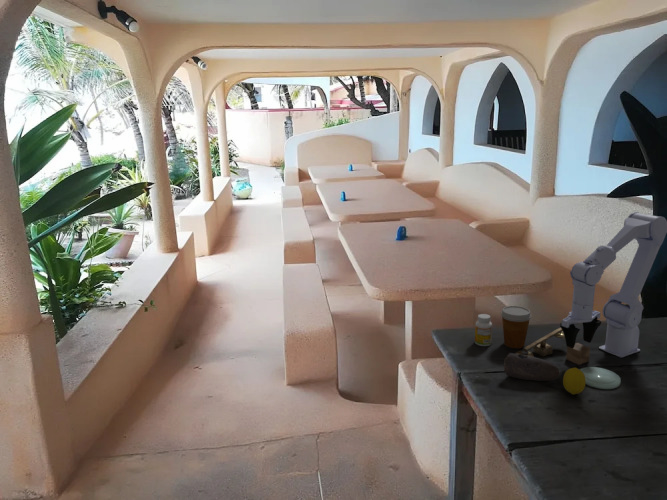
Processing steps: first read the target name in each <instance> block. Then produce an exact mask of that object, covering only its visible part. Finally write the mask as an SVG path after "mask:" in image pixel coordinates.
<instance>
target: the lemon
mask: <svg viewBox="0 0 667 500" xmlns="http://www.w3.org/2000/svg"><path fill="white" fill-rule="evenodd" d="M562 385H563V387H564V389H565V390H566V392H567V393H570V394H571V395H573V396H575V395H578V394H581V393H582V392H583V391H584V389H585V387H586V380H585V375H584V373H583V372H582V371H581V370H580V368H577V367H571V368H568V369H567V370H566V371H565V372H564V374H563V378H562Z"/></svg>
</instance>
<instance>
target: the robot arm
mask: <svg viewBox="0 0 667 500" xmlns="http://www.w3.org/2000/svg"><path fill="white" fill-rule="evenodd" d="M666 235H667V219H666V217H664V216H658V215H652V214H647V213H642V212H638V211H633V212H632V213H630V214H629V215H628V217H626V218H625V219H624V222H623V226H622V228H621V229H620V230H619V231H618V232H617V234H616V235H615V236H613V238H612V239H611V240H610V241H609V242H608V243H607V244H606V245H599V246H597V248H596V249H595V250H594V251H593V252H592V253H591V254H590V255H589V256H588V257H586V258H585V259H584V260H583V261H578V262H577V263H575V264H574V265H573V266H572V268H571V270H570V271H569V274H570V277H571V280H572V283H571V284H572V286H573V289H572V290H573V291H572V303H571V311H569V312H568V315H567V317H565V318H563V319H561V322H560V324H559V326H560V327H559V328H561V329H562V331H563V333H564V336H565V338H564V339H565V345H566V347H567V346H568V347H570V348H574V346H575V343H576V340H577V336H578V333H580V330H581V329H580V328H578V327H576V325H577V324H580V323H582V328H583V329H582V330H583V331H582V332H583V334H582V336H583V337H582V338H583V341H585V342H587V343H589V344H590V343H592V341H593V338H594V335H595V334H596V331H597V330H598V328H600V326H601V325H602V321H601V320H599V319H601V311H598V310H594V302H595V300H594V299H595V294H596V285H597V284H598V283H599V282H600V281H601V278H602V276H603V274H604V272H605V270H606V269H607V268H608V267H609V266H610V265H611V264H612V263H614V262H615V260H617V253H619V252H620V251H621V250H622V249H624V248H625V247H626V246H627V245H628V244H630V243H631V242H632V241H633V240H635V241H637V245H638V247H637V249H636V252H635V254H634V257H633V259H632V261H631V263H630V266H629V268H628V271H627V273H626V275H625V277H624V281H623V283H622V285H621V287H620V289H619V291H618V292H615V293H614V294H610V296H609V299H608V300H607V301H606V302H605V303H604V305H603V306H602V307H603V308H602V316H603V317H604V318H605V322H606V323H607V326H606V335H605V343H604V345H600V346H598V349H599V350H601V351H603V352H606V353H609V354H611V355H614V356H616V357H618V358H625V357H627V356H629V355H632V354H637V353H638V352H640V351H641V349H640V348H638V347H639V338H640V329H639V326H638V325H640V323H641V321H642V313H643V310H644V305H643V304H642V303H641V301H640V299H639V298H640V295H641V293H642V290H643V287H644V285H645V283H646V281H647V278H648V276H649V274H650V272H651V269H652V267H653V264H654V262H655V259H656V257H657V255H658V252H659V250H660V248H661V246H662V244H663V243H664V240H665V238H666Z"/></svg>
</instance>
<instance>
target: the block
mask: <svg viewBox="0 0 667 500" xmlns="http://www.w3.org/2000/svg"><path fill="white" fill-rule="evenodd" d="M590 353H591V347H589V346H586V345H584V344H581V343H579V342H575V346H574V348H570V347H568V346H567V345H566V358H565V359H566V360H567V361H569V362H572V363H574V364H576V365H578V366H579V365H582V363H583V364H584V363H585V364H586V363H588V362H589V361H590Z"/></svg>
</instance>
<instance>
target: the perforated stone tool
mask: <svg viewBox="0 0 667 500" xmlns="http://www.w3.org/2000/svg"><path fill="white" fill-rule="evenodd" d="M503 362H504V364H503V367H504V373H505V375H506V376H508V377H511V378H516V379H519V380H525V381H526V380H527V381H535V382H550V381H554V380H556V379H558V378H559V376H560V370H559V368H558V366H556V365H555V364H554V363H552V362H550V361H548V360H545V359H542V358H540V357H535V356H533V357H531V356H526V355H522V354H516V353H512V352H509V353H508V354H507V356H506V357H504V361H503Z"/></svg>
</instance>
